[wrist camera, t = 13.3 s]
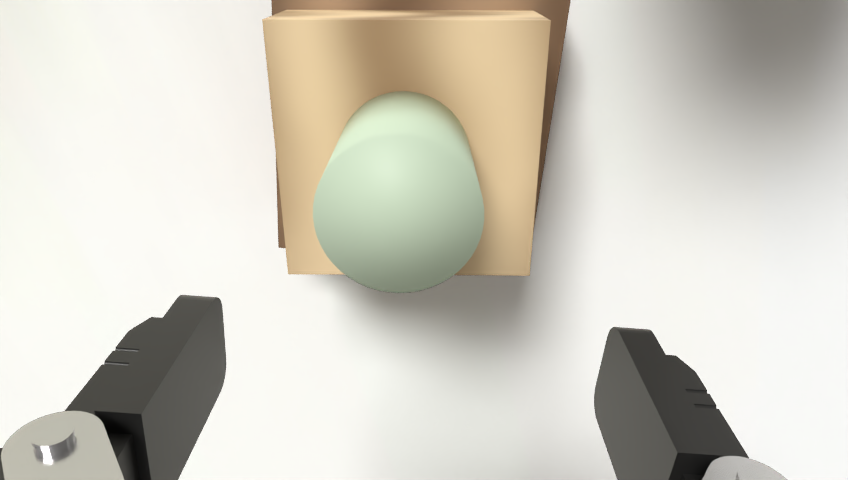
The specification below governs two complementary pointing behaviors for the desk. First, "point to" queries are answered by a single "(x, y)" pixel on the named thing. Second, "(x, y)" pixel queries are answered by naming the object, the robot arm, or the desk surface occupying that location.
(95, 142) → the desk surface
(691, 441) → the robot arm
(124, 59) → the desk surface
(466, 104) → the oak top block
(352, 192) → the green capsule
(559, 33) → the walnut base block
